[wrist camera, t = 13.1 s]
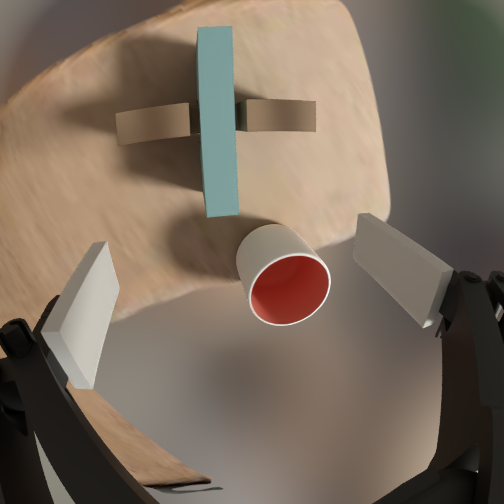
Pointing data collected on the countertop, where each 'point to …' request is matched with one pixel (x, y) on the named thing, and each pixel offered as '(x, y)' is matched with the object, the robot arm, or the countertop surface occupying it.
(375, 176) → the countertop surface
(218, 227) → the countertop surface
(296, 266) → the cup
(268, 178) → the countertop surface
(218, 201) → the teal arch piece
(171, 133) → the u-notched wood block
